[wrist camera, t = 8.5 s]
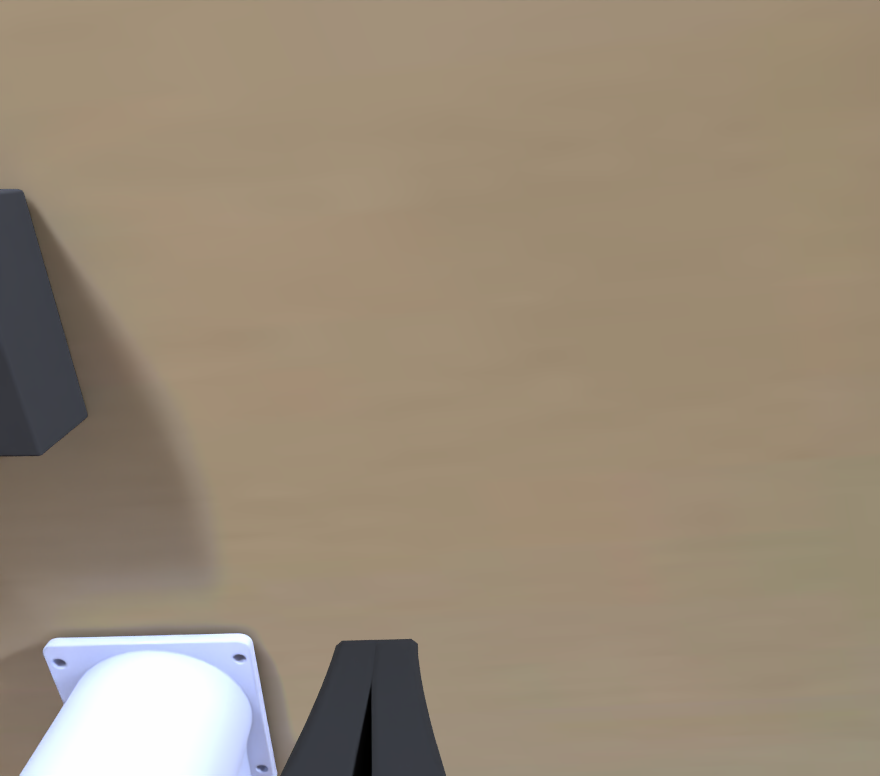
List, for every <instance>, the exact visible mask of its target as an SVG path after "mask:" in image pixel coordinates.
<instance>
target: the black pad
mask: <svg viewBox="0 0 880 776" xmlns="http://www.w3.org/2000/svg"><path fill="white" fill-rule="evenodd" d="M87 416H88V414H87V411H86V407H85V404H84V400H83V397H82V393H81V390H80V387H79V383H78V380H77V376H76V373H75V369H74V366H73V362H72V359H71V355H70V352H69V348H68V345H67V341H66V338H65V334H64V331H63V328H62V324H61V321H60V317H59V314H58V310H57V307H56V303H55V300H54V296H53V293H52V289H51V286H50V282H49V279H48V276H47V272H46V269H45V265H44V262H43V258H42V255H41V251H40V248H39V244H38V241H37V237H36V234H35V230H34V227H33V223H32V220H31V217H30V213H29V210H28V206H27V203H26V199H25V196H24V193H23V191H22V190H19V189H0V456H40V455H42V454H43V453H45V452H46V451H47V450H48V449H50V448H51V447H52V446H53V445H54V444H56V443H57V442H58V441H59V440H60V439H62V438H63V437H64V436H65V435H66V434H68V433H69V432H70V431H71V430H73V429H74V428H75V427H76V426H77V425H79V424H80V423H81V422H82V421H83V420H85V419H86V418H87Z"/></svg>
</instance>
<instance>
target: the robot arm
mask: <svg viewBox="0 0 880 776" xmlns="http://www.w3.org/2000/svg"><path fill="white" fill-rule="evenodd" d="M239 654H240V655H239ZM43 655H44V657H45V660H46V662H47V664H48V667H49V669H50V672H51V674H52V677H53V679H54V682H55V684H56V686H57V689H58V691H59V694H60V696H61V699H62V701H63V703H64V706H63V707H62V709H61V710H60V712H59V714H58V715H57V717H56V718H55V720H54V721H53V723H52V725H51V726H50V728H49V729H48V731H47V733H46V734H45V736H44V737H43V739H42V740H41V742H40V744H39V745H38V747H37V748H36V750H35V751H34V753H33V755H32V756H31V758H30V759H29V761H28V763H27V764H26V766H25V767H24V769H23V770H22V772H21V774H20V775H19V776H277V770H276V765H275V759H274V754H273V749H272V743H271V738H270V732H269V727H268V722H267V716H266V711H265V705H264V700H263V695H262V689H261V684H260V678H259V673H258V668H257V662H256V657H255V651H254V646H253V642H252V640H251V638H250V637H248V636H247V635H245V634H239V633H237V634H196V635H156V636H116V637H75V638H55V639H52V640H50V641H49V642H48V643H47V645H46V646H45V647H44V649H43ZM280 776H446V774H445V771H444V767H443V764H442V761H441V757H440V754H439V750H438V747H437V744H436V740H435V737H434V733H433V729H432V726H431V722H430V718H429V714H428V709H427V705H426V700H425V696H424V691H423V686H422V681H421V674H420V667H419V659H418V644H417V643H416V642H415V641H413V640H412V639H395V640H356V641H341V642H340V643H339V644H338V645H336V648H335V651H334V654H333V657H332V660H331V663H330V666H329V668H328V671H327V674H326V677H325V679H324V682H323V684H322V687H321V689H320V691H319V694H318V696H317V699H316V701H315V703H314V706H313V708H312V710H311V712H310V715H309V717H308V719H307V721H306V724H305V726H304V728H303V730H302V732H301V734H300V736H299V738H298V740H297V742H296V744H295V747H294V749H293V751H292V753H291V755H290V757H289V759H288V761H287V763H286V765H285V767H284V769H283V771H282V773H281V775H280Z"/></svg>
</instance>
